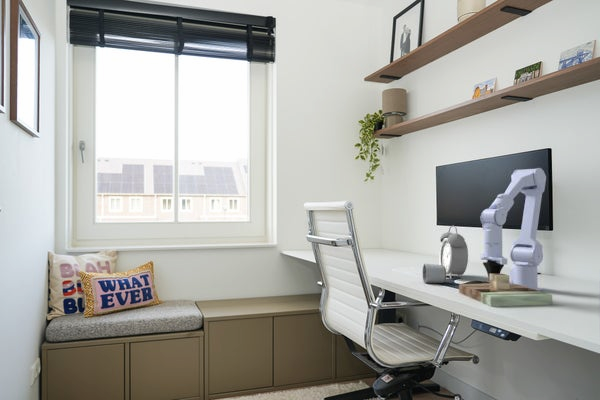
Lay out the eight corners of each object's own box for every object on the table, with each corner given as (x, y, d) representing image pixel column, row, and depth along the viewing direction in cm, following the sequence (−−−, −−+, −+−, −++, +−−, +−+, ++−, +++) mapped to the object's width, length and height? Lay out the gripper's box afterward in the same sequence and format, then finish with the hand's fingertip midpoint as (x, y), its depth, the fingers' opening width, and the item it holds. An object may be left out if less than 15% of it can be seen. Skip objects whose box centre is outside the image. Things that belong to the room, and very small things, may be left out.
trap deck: (459, 292, 163) (459, 284, 164) (512, 291, 165) (512, 282, 165) (490, 306, 142) (490, 296, 142) (552, 304, 144) (552, 294, 144)
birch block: (489, 286, 157) (489, 273, 157) (502, 286, 158) (502, 273, 158) (496, 289, 153) (496, 275, 153) (509, 289, 153) (509, 275, 153)
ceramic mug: (447, 284, 180) (447, 264, 180) (426, 284, 180) (425, 264, 181) (440, 280, 191) (440, 261, 191) (420, 280, 191) (420, 261, 191)
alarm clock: (437, 274, 207) (437, 224, 207) (456, 273, 207) (456, 224, 207) (449, 280, 190) (448, 226, 191) (470, 279, 190) (469, 226, 191)
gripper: (472, 241, 166) (472, 279, 166) (492, 245, 152) (493, 287, 152) (491, 241, 167) (491, 279, 167) (513, 245, 152) (513, 286, 152)
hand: (493, 283), depth 159 cm, fingers closed
